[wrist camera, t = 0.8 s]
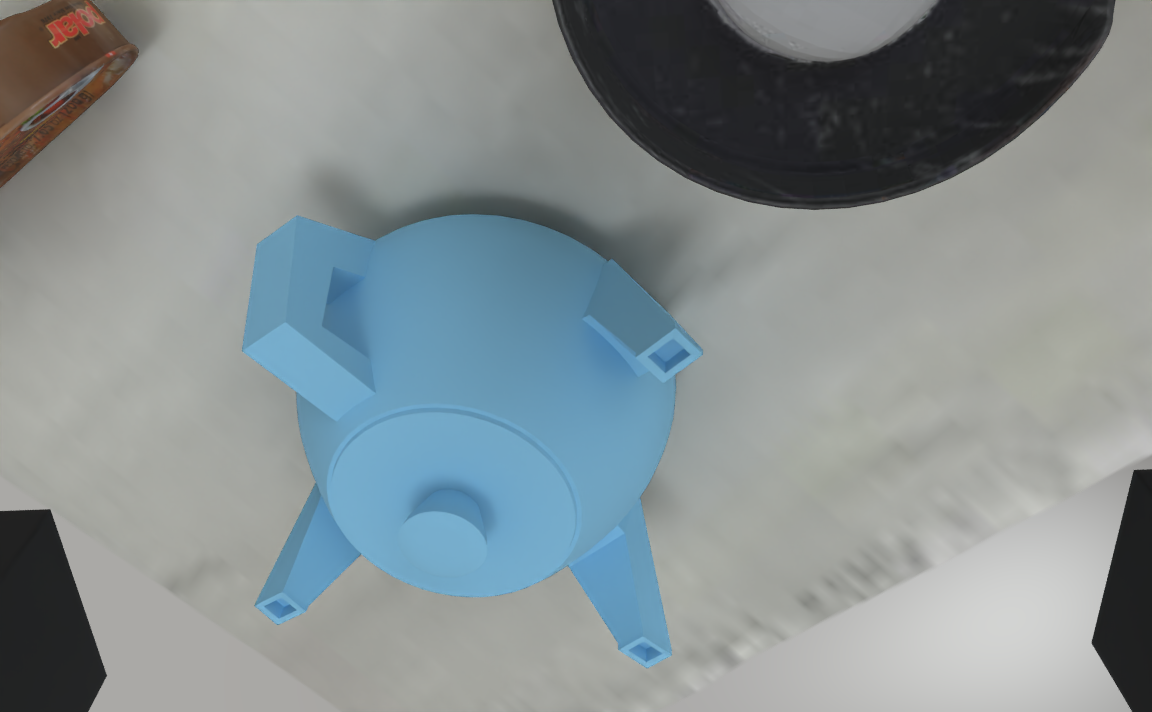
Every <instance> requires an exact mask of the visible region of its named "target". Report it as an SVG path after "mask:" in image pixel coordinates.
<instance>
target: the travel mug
mask: <svg viewBox="0 0 1152 712" xmlns="http://www.w3.org/2000/svg"><path fill="white" fill-rule="evenodd" d="M552 1H553V5H554V9H555V13H556V17H557V21H558V24H559V27H560V30H561V32H562V35H563V37H564V40H565V42H566V45H567V47H568V50H569V52H570V55H571V57H572V59H573V61H574V63H575V65H576V66H577V68H578V70H579V72H580V74H581V75H582V77H583V79H584V81H585V83H586V84H587V86H588V88H589V90H590V91H591V92H592V94H593V95H594V96H595V98H596V99H597V100H598V102H599V103H600V104H601V106H602V107H603V109H604V110H605V111H606V113H607V114H608V115H609V117H610V118H611V119H612V120H613V121H614V122H615V123H616V124H617V125H618V126H619V127H620V128H621V129H622V130H623V131H624V132H625V133H626V134H627V135H628V136H629V137H630V138H631V140H633V141H634V142H635V143H636V144H638V145H639V146H640V147H641V148H642V149H644V150H645V151H646V152H647V153H649V154H650V155H651V156H652V157H654V158H655V159H656V160H657V161H659V162H661V163H662V164H664V165H665V166H667V167H669V168H670V169H672V170H674V171H675V172H677V173H678V174H680V175H682V176H683V177H685V178H687V179H689V180H691V181H693V182H696V183H698V184H700V185H702V186H705V187H707V188H709V189H711V190H713V191H716V192H718V193H721V194H725V195H728V196H731V197H734V198H738V199H741V200H744V201H747V202H752V203H757V204H763V205H768V206H774V207H780V208H794V209H810V210H819V209H838V208H851V207H857V206H863V205H869V204H875V203H881V202H885V201H888V200H892V199H895V198H899V197H902V196H906V195H909V194H913V193H916V192H919V191H921V190H924V189H926V188H929V187H931V186H933V185H936V184H938V183H941V182H943V181H946V180H948V179H950V178H952V177H954V176H956V175H958V174H960V173H962V172H963V171H965V170H967V169H969V168H971V167H973V166H974V165H976V164H978V163H980V162H982V161H984V160H985V159H986V158H988V157H989V156H991V155H992V154H994V153H995V152H997V151H998V150H1000V149H1001V148H1002V147H1004V146H1005V145H1007V144H1008V143H1010V142H1011V141H1013V140H1014V139H1015V138H1017V137H1018V136H1019V135H1020V134H1021V133H1022V132H1024V131H1025V130H1026V129H1027V128H1028V127H1029V126H1031V125H1032V124H1033V123H1034V122H1035V121H1036V120H1038V119H1039V118H1040V117H1041V116H1042V115H1043V114H1044V113H1045V112H1046V111H1047V110H1048V109H1049V108H1050V107H1051V106H1052V105H1053V104H1054V103H1055V102H1056V101H1057V100H1058V99H1059V98H1060V97H1061V96H1062V95H1063V94H1064V93H1065V92H1066V91H1067V90H1068V89H1069V88H1070V87H1071V86H1072V85H1073V83H1074V82H1075V81H1076V80H1077V79H1078V78H1079V76H1080V75H1081V74H1082V73H1083V72H1084V71H1085V69H1086V68H1087V67H1088V66H1089V64H1090V63H1091V62H1092V60H1093V59H1094V58H1095V56H1096V55H1097V54H1098V52H1099V51H1100V49H1101V48H1102V46H1103V44H1104V42H1105V40H1106V39H1107V37H1108V35H1109V33H1110V29H1111V26H1112V22H1113V13H1114V6H1115V0H552Z"/></svg>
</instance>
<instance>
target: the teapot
mask: <svg viewBox="0 0 1152 712" xmlns="http://www.w3.org/2000/svg"><path fill="white" fill-rule="evenodd" d="M242 352H244V353H245V354H247V355H248V356H249V357H251V358H252V359H253V360H255V361H256V362H257V363H259V364H260V365H261V366H263V367H264V368H265V369H267V370H268V371H269V372H271V373H272V374H273V375H275V376H276V377H277V378H279V379H280V380H281V381H283V382H284V383H285V384H287V385H288V386H289V387H291V388H292V389H293V390H295V391H296V392H297V413H298V422H299V428H300V434H301V439H302V442H303V446H304V449H305V453H306V456H307V459H308V462H309V465H310V468H311V471H312V473H313V476H314V478H315V481H316V484H315V486H314V487H313V489H312V491H311V493H310V495H309V497H308V499H307V501H306V503H305V505H304V507H303V509H302V511H301V513H300V515H299V517H298V519H297V521H296V523H295V525H294V527H293V529H292V531H291V533H290V535H289V537H288V539H287V541H286V543H285V545H284V547H283V549H282V551H281V553H280V555H279V557H278V559H277V561H276V563H275V565H274V567H273V569H272V571H271V573H270V575H269V577H268V579H267V581H266V583H265V585H264V587H263V589H262V591H261V593H260V595H259V597H258V599H257V601H256V603H255V605H254V606H255V607H256V608H258V609H259V610H260V611H261V612H262V613H263V614H265V615H266V616H267V617H268V618H269V619H271V620H272V621H273V622H274V623H275V624H277V625H279V624H281V623H283V622H285V621H288V620H290V619H292V618H294V617H296V616H298V615H300V614H302V613H304V612H306V610H307V608H308V606H309V605H310V604H311V603H312V602H313V601H314V600H315V599H316V598H317V597H318V596H319V595H320V594H321V593H322V592H323V591H324V590H325V589H326V588H327V587H328V586H329V585H330V584H331V583H332V582H333V581H334V580H335V579H336V578H337V577H338V576H339V575H340V574H341V573H342V572H343V571H344V570H345V569H346V568H347V567H348V566H350V565H351V564H352V563H353V562H354V561H355V560H356V559H357V558H358V557H359V556H360V555H361V554H362V555H363V556H364V557H365V558H366V559H367V560H369V561H370V562H372V563H373V564H374V565H376V566H377V567H378V568H380V569H381V570H383V571H385V572H386V573H388V574H390V575H391V576H393V577H395V578H397V579H399V580H401V581H403V582H405V583H407V584H410V585H413V586H415V587H418V588H421V589H424V590H428V591H431V592H435V593H439V594H445V595H451V596H460V597H488V596H498V595H502V594H507V593H512V592H515V591H518V590H521V589H524V588H527V587H529V586H531V585H533V584H535V583H538V582H540V581H542V580H544V579H546V578H548V577H550V576H552V575H553V574H555V573H557V572H558V571H560V570H561V569H563V568H565V567H566V566H568V567H569V568H570V569H571V571H572V572H573V574H574V576H575V577H576V579H577V580H578V582H579V583H580V585H581V586H582V588H583V590H584V591H585V593H586V594H587V596H588V597H589V599H590V600H591V602H592V603H593V605H594V607H595V608H596V610H597V611H598V613H599V614H600V616H601V617H602V619H603V621H604V622H605V624H606V625H607V627H608V628H609V630H610V631H611V633H612V635H613V636H614V638H615V639H616V641H617V642H618V650H619V651H621V652H622V653H624V654H626V655H627V656H629V657H630V658H632V659H633V660H635V661H636V662H638V663H639V664H641V665H642V666H644V667H645V668H649V667H651V666H653V665H655V664H656V663H658V662H660V661H662V660H664V659H666V658H668V657H669V656H671V655H672V649H671V644H670V639H669V635H668V630H667V625H666V620H665V615H664V611H663V606H662V601H661V596H660V591H659V586H658V582H657V577H656V572H655V567H654V562H653V557H652V553H651V548H650V543H649V538H648V533H647V528H646V524H645V519H644V514H643V509H642V504H641V499H640V496H641V495H642V493H643V492H644V490H645V489H646V487H647V485H648V484H649V482H650V480H651V478H652V476H653V474H654V472H655V470H656V468H657V466H658V463H659V461H660V459H661V456H662V454H663V452H664V449H665V446H666V443H667V440H668V437H669V433H670V429H671V425H672V421H673V415H674V406H675V394H676V379H675V374H677V373H678V372H680V371H681V370H682V369H684V368H685V367H687V366H688V365H689V364H691V363H692V362H693V361H695V360H696V359H698V358H699V357H700V356H702V355H703V349H702V348H701V347H700V346H699V345H698V344H697V343H696V342H695V341H694V340H693V339H692V338H691V337H690V336H689V335H688V333H687V332H686V331H685V330H684V329H683V328H682V327H681V326H680V325H679V324H678V323H677V322H676V321H675V320H674V319H673V317H672V316H671V315H670V314H669V313H668V312H667V311H666V310H665V309H664V308H663V307H662V306H661V305H659V304H658V303H657V302H656V301H655V300H654V299H653V298H652V297H651V296H650V295H649V294H648V293H647V292H646V291H645V290H644V289H643V288H642V287H641V286H640V285H639V284H638V283H637V282H636V281H635V280H634V279H633V278H632V277H631V276H630V275H629V274H627V273H626V272H625V271H624V270H623V269H622V268H621V267H620V266H619V265H618V264H617V263H616V262H615V261H614V260H613V259H611V260H610V261H607V260H605V259H604V258H603V257H601V256H600V255H599V254H597V253H596V252H595V251H593V250H592V249H590V248H588V247H587V246H585V245H583V244H582V243H580V242H578V241H576V240H575V239H573V238H571V237H569V236H567V235H564V234H562V233H560V232H557V231H555V230H553V229H550V228H548V227H545V226H542V225H538V224H535V223H532V222H528V221H525V220H521V219H515V218H509V217H504V216H498V215H481V214H465V215H449V216H443V217H438V218H432V219H427V220H423V221H420V222H417V223H414V224H411V225H408V226H405V227H402V228H399V229H397V230H395V231H393V232H391V233H389V234H387V235H385V236H383V237H381V238H379V239H377V240H375V241H374V240H371V239H368V238H365V237H362V236H359V235H356V234H353V233H349V232H346V231H343V230H340V229H337V228H334V227H331V226H328V225H325V224H322V223H319V222H316V221H313V220H310V219H307V218H304V217H301V216H298V215H297V216H296V217H294V218H293V219H291V220H290V221H289V222H287V223H286V224H285V225H283V226H282V227H280V228H279V229H278V230H276V231H275V232H273V233H272V234H271V235H269V236H268V237H267V238H265V239H264V240H262V241H261V242H260V243H258V244H257V249H256V256H255V263H254V270H253V277H252V284H251V291H250V298H249V305H248V312H247V319H246V326H245V333H244V340H243V347H242Z"/></svg>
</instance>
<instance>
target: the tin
mask: <svg viewBox="0 0 1152 712" xmlns="http://www.w3.org/2000/svg"><path fill="white" fill-rule="evenodd" d="M138 53H139V50H138V48H137V47H136V46H135V45H132V44H130V43H129V42H128V41H127V40H126V39H125V38H124V37H123V36H122V35H121V34H120V32H119V31H118V30H117V29H116V28H115V27H114V26H113V25H112V23H111V22H110V21H109V20H108V19H107V18H106V17H105V16H104V14H103V13H102V12H101V11H100V10H99V9H98V8H97V7H96V6H95V5H94V4H93V3H92V2H91V1H90V0H51V1H49V2H47V3H45V4H42V5H40V6H38V7H36V8H34V9H31V10H29V11H26V12H23V13H19V14H15V15H12V16H10V17H7V18H5V19H3V20H0V188H1V187H2V186H3V185H4V184H5V183H6V182H7V181H9V180H10V179H11V178H12V177H13V176H14V175H15V174H16V173H17V172H18V171H19V170H21V169H22V168H23V167H24V166H25V165H26V164H27V163H28V162H29V161H31V160H32V159H33V158H34V157H35V156H36V155H37V154H38V153H39V152H40V151H41V150H43V149H44V148H45V147H46V146H47V145H48V144H49V143H50V142H51V141H52V140H54V139H55V138H56V137H57V136H58V135H59V134H60V133H61V132H62V131H63V130H64V129H66V128H67V127H68V126H69V125H70V124H71V123H72V122H73V121H74V120H76V119H77V118H78V117H79V116H80V115H81V114H82V113H83V112H84V111H86V110H87V109H88V108H89V107H90V106H91V105H92V104H93V103H94V102H95V101H96V100H97V99H98V98H100V97H101V96H102V95H103V94H104V93H105V92H106V91H107V90H108V89H109V88H110V87H111V86H113V85H114V84H115V82H116V81H117V80H118V79H119V78H120V77H121V76H122V75H123V74H124V73H125V72H126V71H127V70H128V68H129V67H130V66H131V65H132V64H133V63H134V61H135V60H136V58H137V57H138Z"/></svg>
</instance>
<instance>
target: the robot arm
mask: <svg viewBox="0 0 1152 712" xmlns="http://www.w3.org/2000/svg"><path fill="white" fill-rule="evenodd" d="M1092 645H1093V646H1094V648H1095V650H1096V651H1097V653H1098V655H1099V656H1100V658H1101V660H1102V661H1103V663H1104V665H1105V667H1106V668H1107V670H1108V672H1109V673H1110V675H1111V677H1112V678H1113V680H1114V681H1115V683H1116V685H1117V687H1118V688H1119V690H1120V692H1121V693H1122V695H1123V697H1124V698H1125V700H1126V702H1127V704H1128V705H1129V707H1130V709H1131V710H1132V712H1152V469H1150V470H1134V472H1133V476H1132V480H1131V484H1130V488H1129V492H1128V496H1127V501H1126V505H1125V508H1124V513H1123V517H1122V521H1121V525H1120V529H1119V533H1118V537H1117V541H1116V545H1115V549H1114V553H1113V558H1112V562H1111V566H1110V570H1109V574H1108V578H1107V582H1106V587H1105V590H1104V594H1103V598H1102V603H1101V606H1100V610H1099V615H1098V619H1097V623H1096V627H1095V631H1094V635H1093V639H1092ZM106 676H107V675H106V672H105V669H104V666H103V663H102V660H101V657H100V654H99V651H98V648H97V646H96V643H95V639H94V636H93V634H92V631H91V628H90V625H89V622H88V619H87V616H86V613H85V610H84V607H83V604H82V601H81V598H80V595H79V592H78V590H77V587H76V584H75V581H74V578H73V575H72V572H71V569H70V566H69V563H68V560H67V557H66V554H65V551H64V548H63V545H62V542H61V539H60V537H59V534H58V531H57V528H56V525H55V522H54V519H53V516H52V513H51V510H50V509H47V510H20V511H0V712H88V711H89V709H90V707H91V705H92V703H93V701H94V699H95V697H96V696H97V694H98V691H99V690H100V688H101V686H102V684H103V682H104V680H105V678H106Z"/></svg>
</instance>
